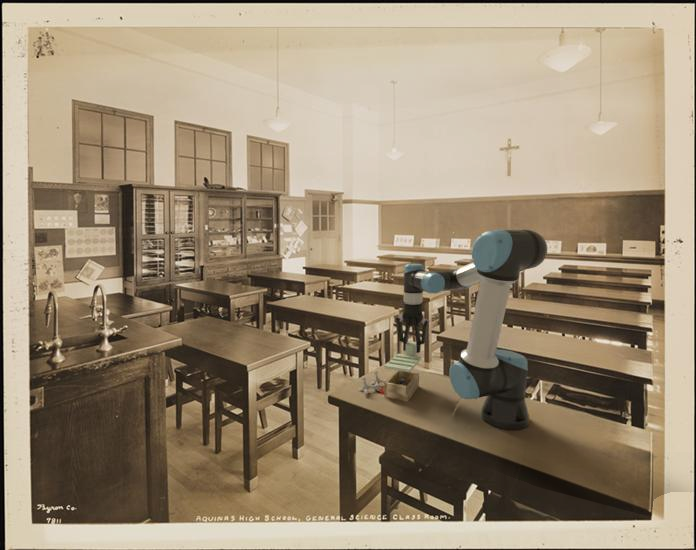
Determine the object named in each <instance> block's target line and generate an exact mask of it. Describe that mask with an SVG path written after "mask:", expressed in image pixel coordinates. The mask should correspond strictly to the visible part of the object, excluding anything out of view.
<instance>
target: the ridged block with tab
mask: <svg viewBox="0 0 696 550" xmlns="http://www.w3.org/2000/svg"><path fill="white" fill-rule="evenodd" d="M408 342H409V343H408V344H407V345H406V355H405V353H404V354H402V353H397V354H396V355H395V356H394V357H392V358H391V359H390V360H389V361H388V362H387V363H385V364H384V369H386V370H387V369H388V370H393V371H397V370H398V371H404V372H412V371H413V370H414V368H415V367H416V366H417V365H418V364H419V363H420V362H421V360H422V356H419V355H418V356H414V351H415V345H416V341H408Z"/></svg>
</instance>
